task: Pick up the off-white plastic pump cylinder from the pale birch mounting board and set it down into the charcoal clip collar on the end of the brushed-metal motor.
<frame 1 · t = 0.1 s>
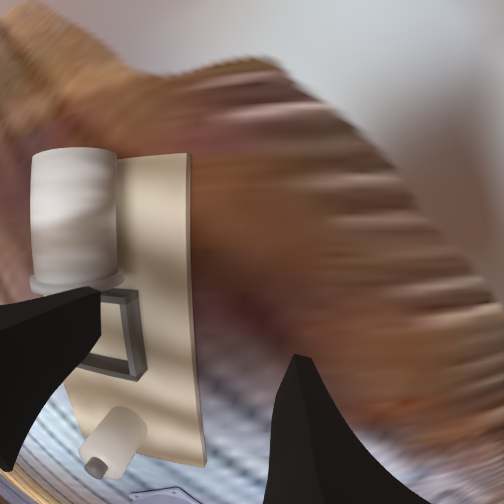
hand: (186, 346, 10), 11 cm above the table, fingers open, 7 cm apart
motor mount: (116, 344, 22), on the table
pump: (128, 423, 22), point 1 cm above the table, touching motor mount
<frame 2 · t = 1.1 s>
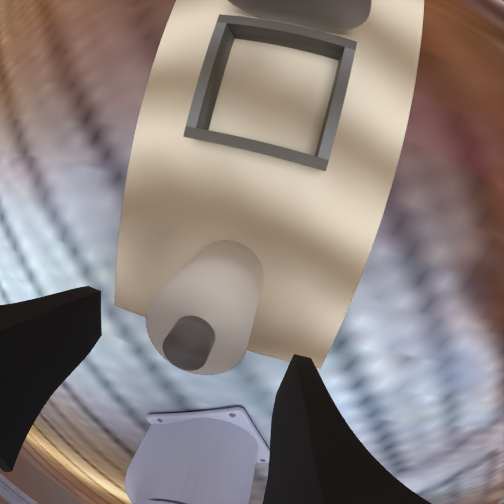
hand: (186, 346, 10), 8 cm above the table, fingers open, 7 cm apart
motor mount: (265, 131, 15), on the table
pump: (227, 275, 16), point 1 cm above the table, touching motor mount
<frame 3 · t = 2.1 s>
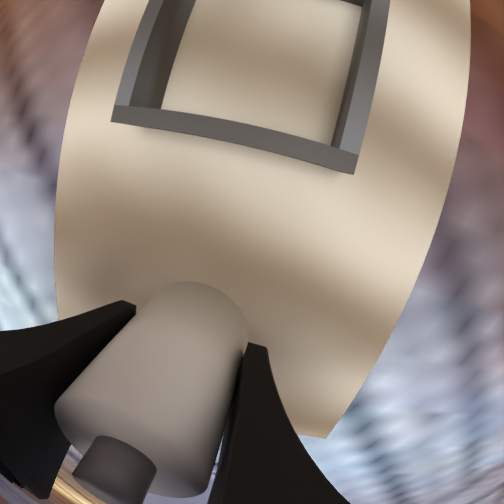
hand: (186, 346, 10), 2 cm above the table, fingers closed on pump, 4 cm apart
motor mount: (250, 111, 9), on the table
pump: (195, 330, 11), point 1 cm above the table, touching gripper, motor mount
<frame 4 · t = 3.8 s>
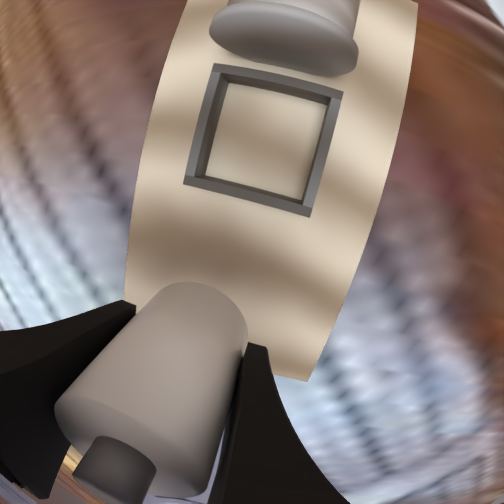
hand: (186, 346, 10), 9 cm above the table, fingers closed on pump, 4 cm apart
motor mount: (258, 173, 17), on the table
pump: (195, 330, 11), point 8 cm above the table, touching gripper
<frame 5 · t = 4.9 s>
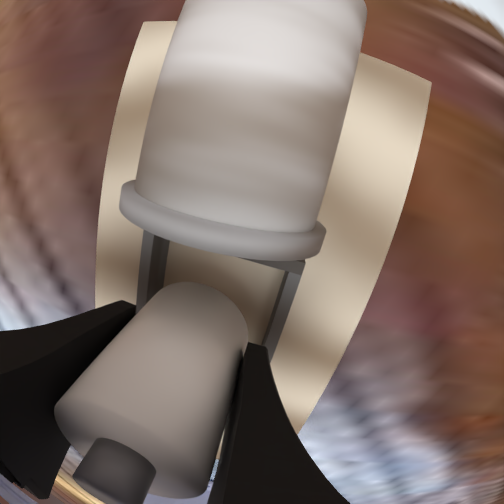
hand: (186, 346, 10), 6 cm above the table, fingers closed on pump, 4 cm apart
motor mount: (214, 317, 16), on the table
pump: (195, 330, 11), point 5 cm above the table, touching gripper
when the fingers open (4 cm above the table, at t = 5.6 s): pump drops 2 cm, resting on motor mount.
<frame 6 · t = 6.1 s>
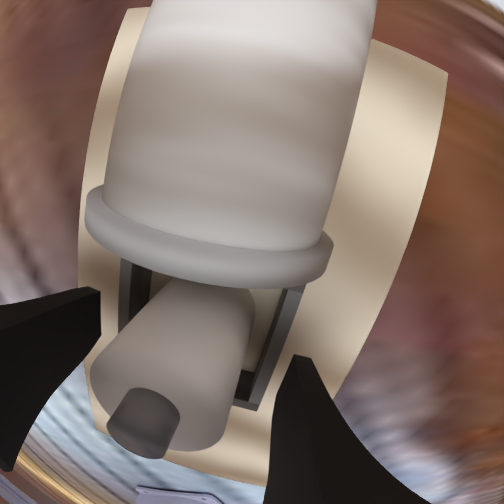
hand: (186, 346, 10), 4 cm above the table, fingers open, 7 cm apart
motor mount: (206, 333, 14), on the table
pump: (208, 308, 12), point 1 cm above the table, touching motor mount
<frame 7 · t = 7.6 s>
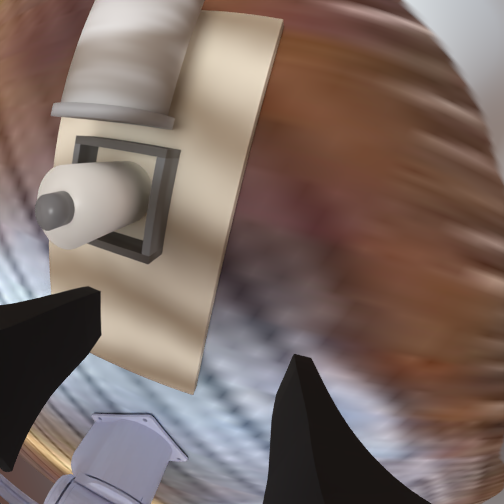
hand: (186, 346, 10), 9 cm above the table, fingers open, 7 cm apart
motor mount: (128, 219, 19), on the table
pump: (125, 192, 17), point 1 cm above the table, touching motor mount
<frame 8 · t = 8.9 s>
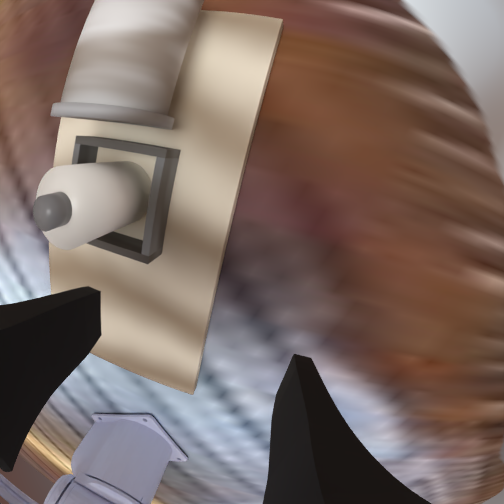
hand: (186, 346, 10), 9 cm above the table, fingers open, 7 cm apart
motor mount: (128, 219, 19), on the table
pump: (125, 192, 17), point 1 cm above the table, touching motor mount
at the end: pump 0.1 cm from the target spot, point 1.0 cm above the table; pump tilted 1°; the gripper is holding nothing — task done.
